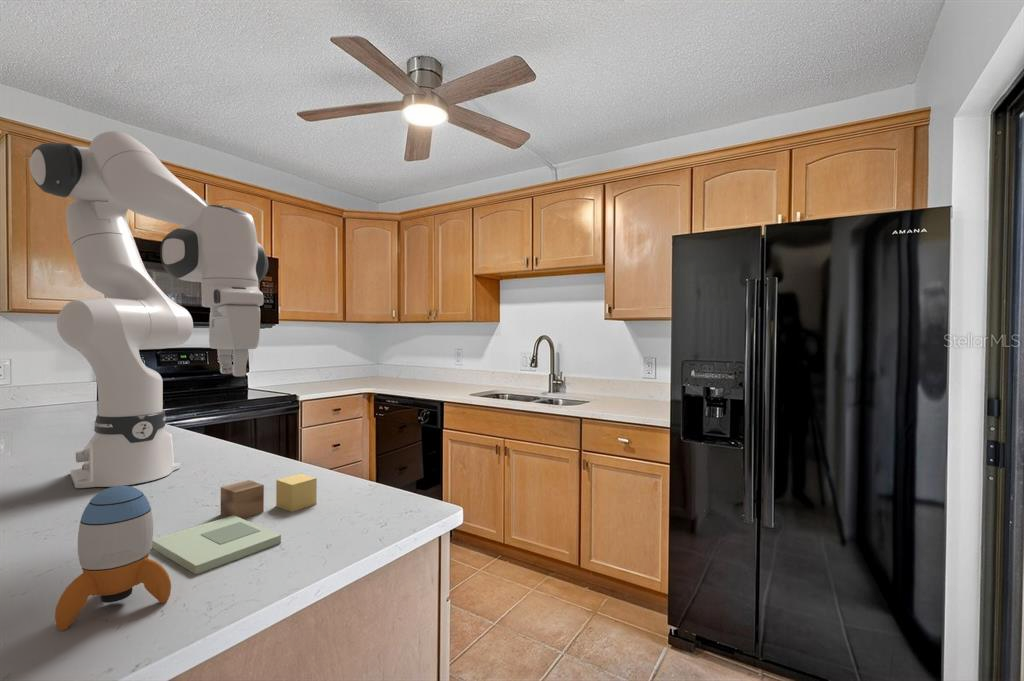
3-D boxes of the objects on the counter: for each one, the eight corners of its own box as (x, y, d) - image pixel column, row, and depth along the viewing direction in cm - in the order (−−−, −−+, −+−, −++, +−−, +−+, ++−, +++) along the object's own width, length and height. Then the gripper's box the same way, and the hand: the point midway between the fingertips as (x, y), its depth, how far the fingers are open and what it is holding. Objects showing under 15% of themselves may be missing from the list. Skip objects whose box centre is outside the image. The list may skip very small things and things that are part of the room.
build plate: (151, 547, 72) (151, 539, 72) (233, 522, 83) (233, 514, 83) (196, 574, 65) (196, 564, 65) (280, 542, 75) (280, 534, 75)
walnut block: (220, 514, 86) (220, 487, 86) (248, 506, 90) (248, 480, 90) (235, 521, 83) (235, 492, 83) (263, 512, 87) (263, 484, 87)
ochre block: (276, 506, 90) (276, 479, 90) (300, 498, 95) (300, 473, 95) (291, 512, 88) (292, 484, 88) (316, 504, 92) (316, 478, 92)
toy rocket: (98, 593, 62) (132, 474, 64) (184, 604, 63) (215, 487, 65) (28, 630, 52) (71, 487, 54) (132, 643, 53) (170, 502, 55)
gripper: (199, 300, 92) (200, 373, 92) (223, 292, 77) (225, 379, 77) (236, 301, 96) (237, 371, 96) (266, 293, 81) (268, 376, 81)
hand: (232, 374), depth 86 cm, fingers open, 8 cm apart
